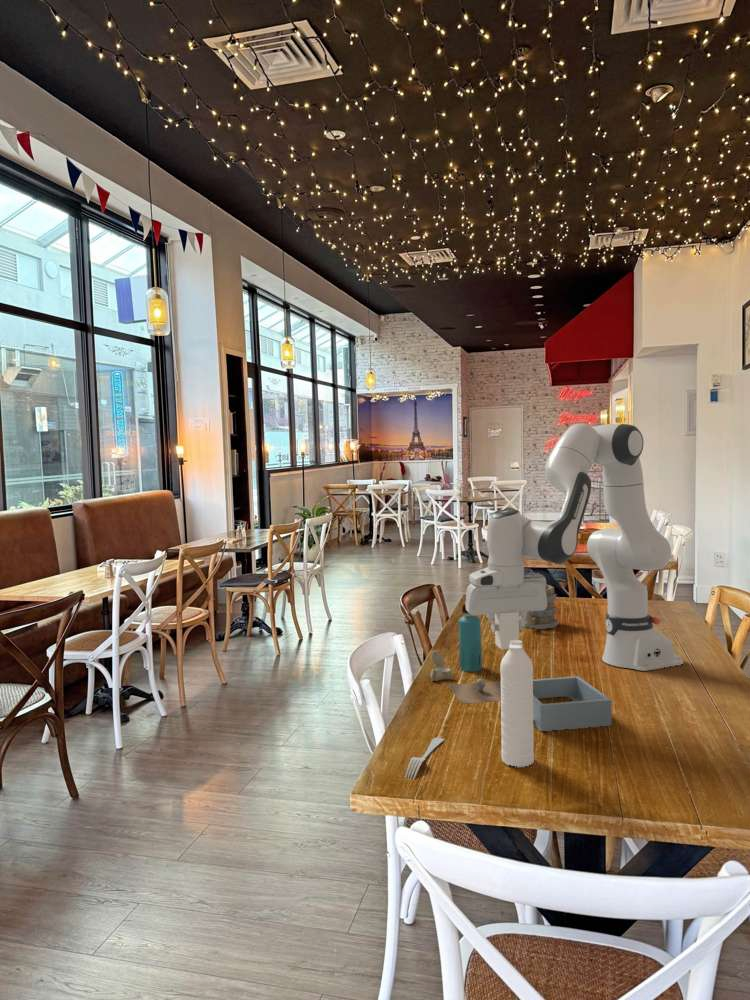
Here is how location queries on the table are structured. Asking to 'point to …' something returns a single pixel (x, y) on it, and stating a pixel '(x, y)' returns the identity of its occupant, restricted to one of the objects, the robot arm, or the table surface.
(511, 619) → the ivory rectangular pillar
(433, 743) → the fork
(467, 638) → the beverage bottle
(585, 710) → the slate bin
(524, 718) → the water bottle
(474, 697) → the walnut base
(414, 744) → the table surface
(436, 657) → the bone
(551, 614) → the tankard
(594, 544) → the robot arm
